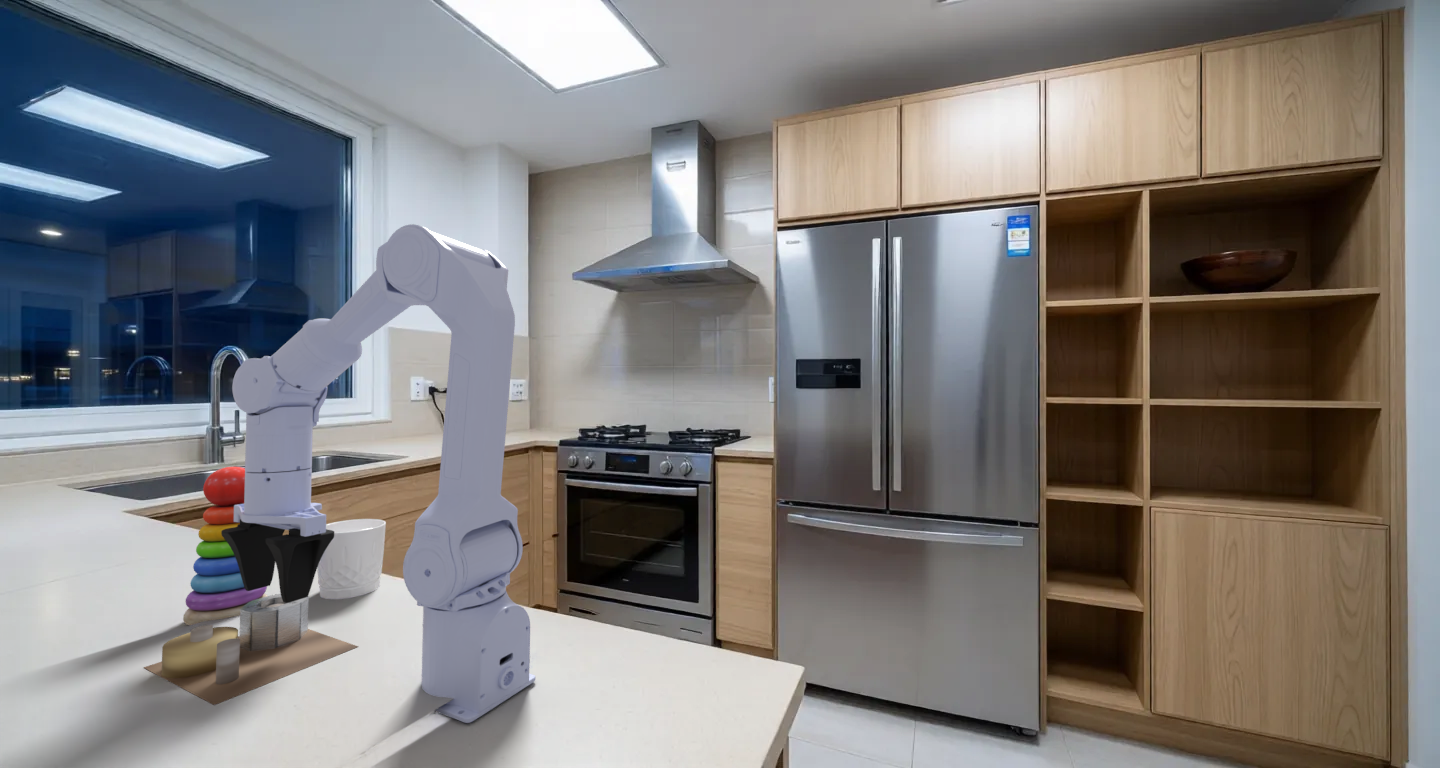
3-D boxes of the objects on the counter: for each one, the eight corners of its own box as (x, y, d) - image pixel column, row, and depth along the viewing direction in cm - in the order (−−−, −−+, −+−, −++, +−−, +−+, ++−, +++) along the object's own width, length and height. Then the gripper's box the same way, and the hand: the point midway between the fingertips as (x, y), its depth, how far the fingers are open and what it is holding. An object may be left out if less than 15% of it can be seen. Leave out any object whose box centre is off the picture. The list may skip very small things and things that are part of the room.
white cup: (302, 602, 72) (304, 527, 72) (364, 584, 79) (366, 516, 79) (333, 614, 68) (336, 535, 68) (396, 594, 75) (398, 523, 75)
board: (358, 657, 57) (359, 613, 57) (213, 718, 46) (215, 663, 46) (285, 631, 63) (286, 591, 63) (143, 679, 52) (144, 631, 52)
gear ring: (316, 633, 60) (317, 597, 60) (258, 654, 55) (259, 615, 55) (288, 624, 62) (289, 589, 62) (230, 643, 57) (232, 606, 57)
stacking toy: (285, 606, 70) (289, 463, 71) (223, 632, 63) (228, 472, 63) (231, 603, 71) (236, 462, 72) (163, 629, 63) (168, 470, 64)
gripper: (357, 469, 60) (354, 592, 59) (285, 461, 66) (282, 572, 65) (283, 478, 53) (279, 615, 53) (211, 468, 59) (208, 591, 59)
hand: (276, 593), depth 59 cm, fingers open, 7 cm apart
